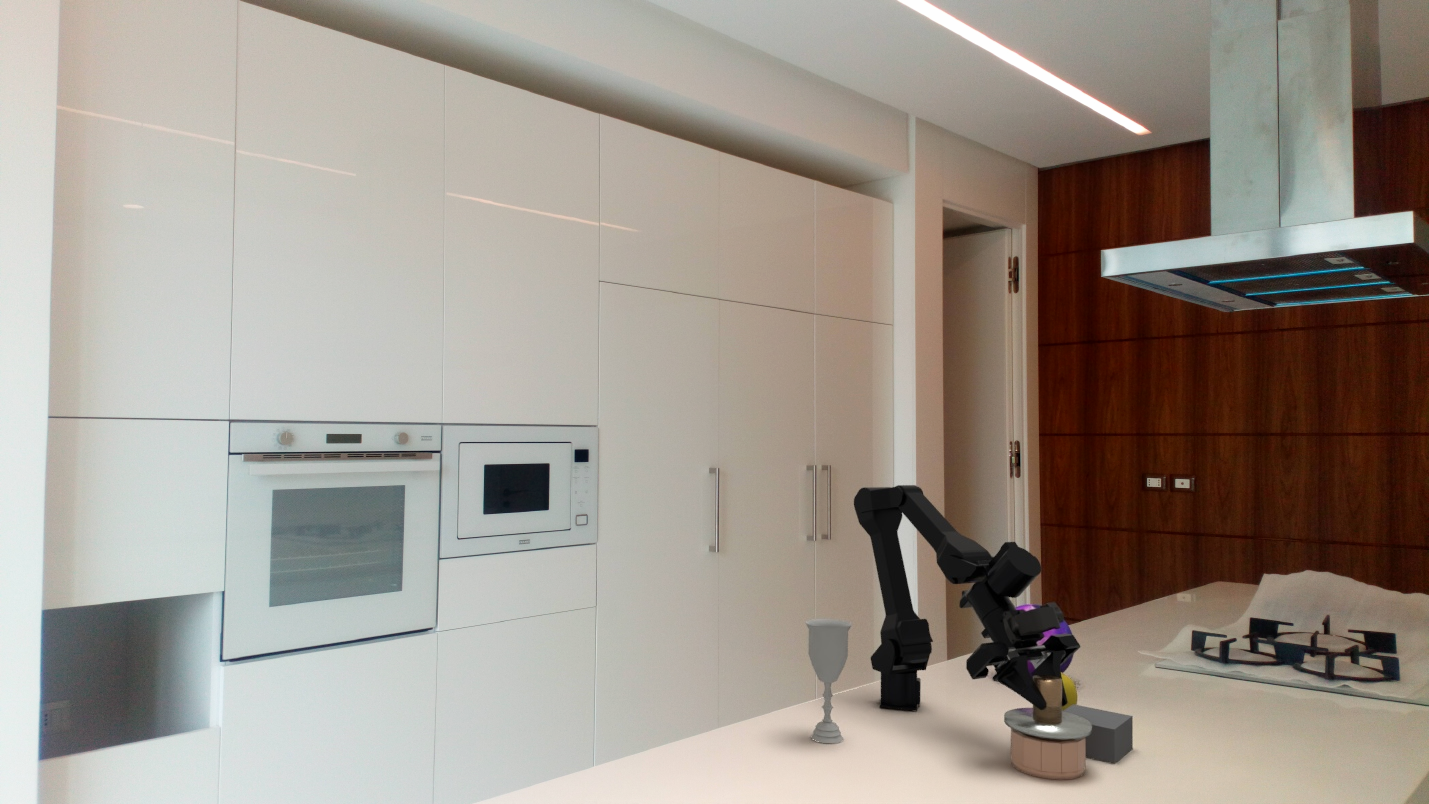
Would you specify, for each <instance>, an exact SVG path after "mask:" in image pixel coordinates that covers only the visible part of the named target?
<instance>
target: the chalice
mask: <svg viewBox="0 0 1429 804" xmlns="http://www.w3.org/2000/svg"><path fill="white" fill-rule="evenodd" d="M805 624H806V627H807V629H808V651H807V652H808V656H809V660H810V662H811V666H812V669H813V671H814V672H815V675H816V677H817V679H818V680H819V681H820V682H822V683H823V684H824V690H823V693H822V697H823V699H824V703H823V705H822V706H821V709H823V714H824V715H823V719H822V720H821V721H819V722H817V724H815V728H814V729H813V733H812V735H811V736H812V737H811V736H810V739H811V738H812V739H814V740H816V741H819V742H822V743H821V744H823V743H836V744H840V743H842V742H843V741H844V737H843V735H842V732H841V730H840V727H839V726H838V724H837V723H836V722H834V721H833V720H832V717H831V714H832V713H831V712H832V710H833V709H834V707H833V705H832V702H831V701H832V698H833V697H834V696H833V693H832V689H831V687H832V683H835V682H837V681H838V679H839V678H840V675H841V674H842V671H843V670H844V668H845V665H846V663H847V660H848V656H849V630H850V629H851V627H852V625H853V624H852V623H851V622H850V621H846V620H842V619H834V618H813V619H808V620H805ZM812 739H811V740H812ZM842 740H843V741H842ZM841 741H842V742H841ZM839 742H840V743H839Z"/></svg>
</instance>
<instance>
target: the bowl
mask: <svg viewBox="0 0 1429 804" xmlns="http://www.w3.org/2000/svg"><path fill="white" fill-rule="evenodd" d="M1010 757H1011V758H1010V763H1011V765H1012V767H1013V768H1014V769H1016V770H1018V771H1019V772H1021V773H1023V774H1026V775H1029V776H1033V777H1038V778H1042V779H1047V780H1048V779H1049V780H1073V779H1078V778H1081V777H1083V775H1084V774H1085V768H1086V757H1085V737H1084V738H1079V739H1050V738H1043V737H1037V736H1032V735H1028V734H1024V733H1021V732H1018V731H1016V730H1014V729H1011V728H1010Z"/></svg>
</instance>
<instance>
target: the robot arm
mask: <svg viewBox="0 0 1429 804" xmlns="http://www.w3.org/2000/svg"><path fill="white" fill-rule="evenodd" d="M853 506H854V510H855V515H856V516H857V520H858V523H859V525H860V527H862V529H863V530H864V531H865V533H867V534H868V536H869V537H870V542H871V546H872V552H873V556H874V562H875V567H876V571H877V577H878V582H879V587H880V593H881V597H882V602H883V608H884V613H885V616H884V617H885V618H884V620H883V623H882V625H881V629H880V634H879V635H880V642H881V644H880V645H879V646H878V647H877V648H876V650H875V651H874V652H873V654H872V655H870V663H871V668H872V670H874V671H876V672H880V700H879V703H878V706H879V708H882V709H892V710H893V709H894V710H902V711H903V710H904V711H914V712H915V711H916V712H917V710H918V706H920V705H921V692H922V691H921V687H922V686H921V683H922V682H921V680H922V679H921V678H920V677H918V671H927V666H928V662H929V659H930V655H931V654H932V651H933V648H932V647H933V646H932V643H933V642H934V640H933V638H932V635H931V632H930V623H929V621H928V619H927V618H920V617H919V615H918V614H917V613H916V612H915V610H914V607H913V602H912V598H911V597H912V595H911V592H910V586H909V582H908V578H907V571H906V567H905V562H904V559H903V553H902V547H901V544H900V539H899V532H898V530H899V529H900V526H901V522H902V520H903V515H904V517H905V518H906V519H907V520H908V521H909V522H910V524H911V525H912V526H913V527H914V528H915V529H916V531H917V532H918V534H919V533H920V535H921V536H922V537H923V538H924V540H926V542H927V543H928V544H929V546H930V547H931V548H932V549H933V550H934V552H935V554H936V555H935V556H936V557H935V558H936V564H937V566H938V567H939V569H940V570H941V572H942V574H943V575H944V577H945V578H946V580H947V581H948V582H949V583H951V584H953V585H963V584H972V586H971V587H970V588H969V589H968V590H962V591H961V597H960V599H959V608H960V609H965V608H966V609H968V608H972V610H973V611H974V613H975V615H976V616H977V618H978V619H979V621H980V623H981V625H982V626H983V628H984V629H983V630H982V631H981V632H980V635H982V637H983V639H990V640H991V642H984V643H981V644H980V645H978V647H977V648H976V649H975V650H974V651H973V652H972V653H971V654H970V655H969V657H968V658H966V665H965V666H966V667H965V669H966V671H967V672H968V675H969V676H970V677H971V679H972V680H979V679H985V678H987V677H988V676H989V673H990V670H989V668H988V667H992V666H993V667H994V671H995V672H996V673H995V674H994V675H993V676H992V677H991V679H992V680H993V682H999V684H1002V685H1003V686H1005V687H1007V688H1008V689H1009V690H1011V691H1012V692H1015V693H1016V694H1018V695H1019V696H1020V697H1021V698H1023V699H1024V700H1025V701H1027V702H1029V703H1030V704H1031V705H1032V706H1033V705H1034V706H1036V707H1037V708H1038V709H1040V710H1044V709H1045V708H1046V707H1047V706H1046V703H1045V701H1044V699H1043V697H1042V695H1041V693H1040V691H1039V689H1038V687H1037V686H1036V684H1035V682H1034V680H1033V678H1032V677H1031V675H1030V673H1029V671H1028V662H1027V661H1029V660H1030V662H1032V664H1033V666H1034V667H1035V670H1034V671H1033V672H1032V673H1031V674H1032V676H1035V675H1050V676H1055V677H1059V678H1061V679H1062V676H1061V670H1060V666H1061V665H1062V664H1063V663H1064V662H1065V661H1067V660H1068V659H1069V658H1070V657H1071V656H1072V655H1073V654H1074V655H1075V653H1076V652H1077V651H1078V650H1079V649H1080V648H1081V644H1080V643H1079V642H1078V640H1077V639H1076V637H1075V636H1074V634H1072V635H1071V634H1067V633H1066V634H1057V635H1051V636H1050V637H1049V638H1048V639H1047V640H1046V641H1045V642H1044V643H1043V644H1042V645H1040V646H1037V645H1038V644H1037V642H1038V641H1041V640H1042V639H1043V638H1044V637H1045V636H1044V634H1043V632H1046V631H1049V630H1052V629H1059V628H1061V627H1060V623H1062V622H1063V621H1064V620H1065V618H1064V617H1065V616H1064V612H1063V610H1061V608H1060V607H1059V606H1058V604H1057V603H1056V602H1055V601H1053V602H1046V603H1045V604H1040V605H1041V606H1040V608H1036V609H1031V610H1028V611H1025V610H1023V609H1021V610H1017V609H1016V608H1015V607H1016V606H1015V605H1014V603H1013V601H1012V600H1011V598H1012V599H1015V598H1019V597H1020V596H1021V595H1022V594H1023V593H1024V591H1025V590H1026V589H1027V588H1028V587H1029V586H1030V585H1031V584H1032V582H1034V581H1035V579H1036V578H1037V577H1038V576H1039V575H1040V574H1041V572H1042V565H1041V562H1040V561H1039V559H1038V558H1037V556H1035V555H1033V554H1032V553H1031V552H1030V551H1028V550H1027V549H1025V548H1023V547H1020V546H1019V545H1018V544H1017V542H1016V541H1005V542H1004V543H1003V544H1002V545H1001V546H1000V548H999V550H998V551H997V553H996V554H995V555H994V556H993V555H991V553H990V552H989V551H988V550H987V548H985V547H983V545H981V544H980V543H978V542H977V541H976V540H974V539H971V538H969V537H967V536H965V535H962V534H961V533H960V532H959V531H957V529H956V528H955V527H954V526H952V524H951V523H950V522H949V521H948V520H947V519H946V517H945V516H944V515H943V514H942V513H941V512H940V511H939V510H938V509H937V507H936V506H935V505H934V504H933V503H932V502H931V501H930V500H929V498H927V497H926V496H925V494H924V491H923V489H922V488H921V487H920V486H917V485H914V484H902V485H901V484H898V485H895V486H892V487H891V486H876V487H875V486H872V487H867V486H865V487H861V488H859V490H858V491H857V493H856V494H855V496H854V498H853ZM1074 655H1073V656H1074ZM1067 703H1068V701H1067V697H1066V693H1065V689H1064V685H1063V680H1062V707H1063V706H1065V705H1066V704H1067Z"/></svg>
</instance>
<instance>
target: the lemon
mask: <svg viewBox="0 0 1429 804" xmlns="http://www.w3.org/2000/svg"><path fill="white" fill-rule="evenodd" d="M1061 676H1062V680H1063V685H1064V689H1065V693H1066V697H1067V701H1068V703H1067V704H1066V705H1065V706H1063V707H1062V711H1063V710H1065V709H1066V708H1068V707H1070V706H1071V705H1073V704H1075V705H1078V704H1077V703H1078V690H1077V688H1076V687H1077V686H1076V685H1075V682H1074V681H1073V679H1071V678H1070V677H1069V676H1068V675H1065V674H1064V673H1062V672H1061Z"/></svg>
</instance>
